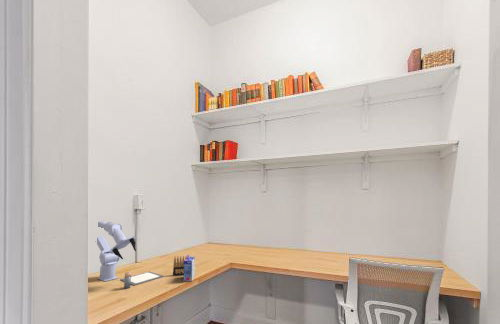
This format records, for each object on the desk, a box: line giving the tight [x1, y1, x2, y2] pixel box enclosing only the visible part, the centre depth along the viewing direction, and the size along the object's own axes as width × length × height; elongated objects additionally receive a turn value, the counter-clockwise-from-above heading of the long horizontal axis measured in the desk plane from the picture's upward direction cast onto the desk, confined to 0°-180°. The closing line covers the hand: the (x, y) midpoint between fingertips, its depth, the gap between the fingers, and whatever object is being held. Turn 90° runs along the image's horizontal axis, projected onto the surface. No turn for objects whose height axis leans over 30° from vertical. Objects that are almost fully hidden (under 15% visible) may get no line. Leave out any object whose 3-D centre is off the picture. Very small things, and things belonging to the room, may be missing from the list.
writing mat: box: [119, 271, 164, 286], centre depth 155 cm, size 16×20×1 cm
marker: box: [123, 271, 132, 290], centre depth 139 cm, size 3×3×8 cm
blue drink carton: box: [183, 254, 196, 282], centre depth 155 cm, size 10×6×14 cm, turn 2°
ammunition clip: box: [172, 255, 190, 277], centre depth 163 cm, size 11×2×12 cm, turn 100°
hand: (128, 254), depth 143 cm, fingers open, 7 cm apart
